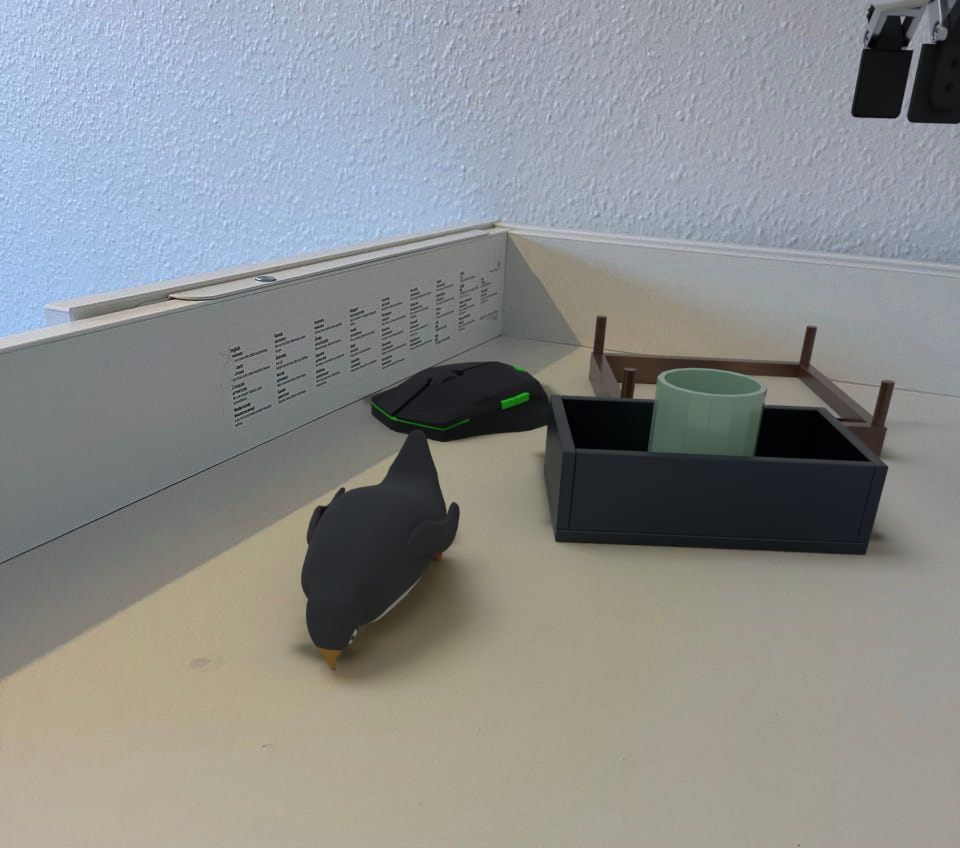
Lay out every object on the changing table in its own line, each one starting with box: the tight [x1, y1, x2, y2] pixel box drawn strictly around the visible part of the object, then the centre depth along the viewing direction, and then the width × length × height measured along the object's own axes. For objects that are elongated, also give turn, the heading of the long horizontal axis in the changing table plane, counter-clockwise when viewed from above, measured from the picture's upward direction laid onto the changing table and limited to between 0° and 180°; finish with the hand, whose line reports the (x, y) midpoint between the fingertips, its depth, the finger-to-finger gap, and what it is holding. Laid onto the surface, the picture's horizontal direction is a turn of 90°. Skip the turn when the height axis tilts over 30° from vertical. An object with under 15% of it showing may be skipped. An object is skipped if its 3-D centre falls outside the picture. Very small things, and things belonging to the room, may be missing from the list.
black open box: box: [543, 394, 889, 555], centre depth 66 cm, size 20×13×6 cm, turn 90°
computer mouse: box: [370, 360, 550, 442], centre depth 83 cm, size 11×16×4 cm
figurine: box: [300, 430, 461, 670], centre depth 51 cm, size 7×10×15 cm
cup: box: [648, 368, 768, 457], centre depth 65 cm, size 7×7×8 cm
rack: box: [588, 314, 896, 459], centre depth 87 cm, size 21×21×6 cm
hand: (902, 120), depth 63 cm, fingers open, 9 cm apart
